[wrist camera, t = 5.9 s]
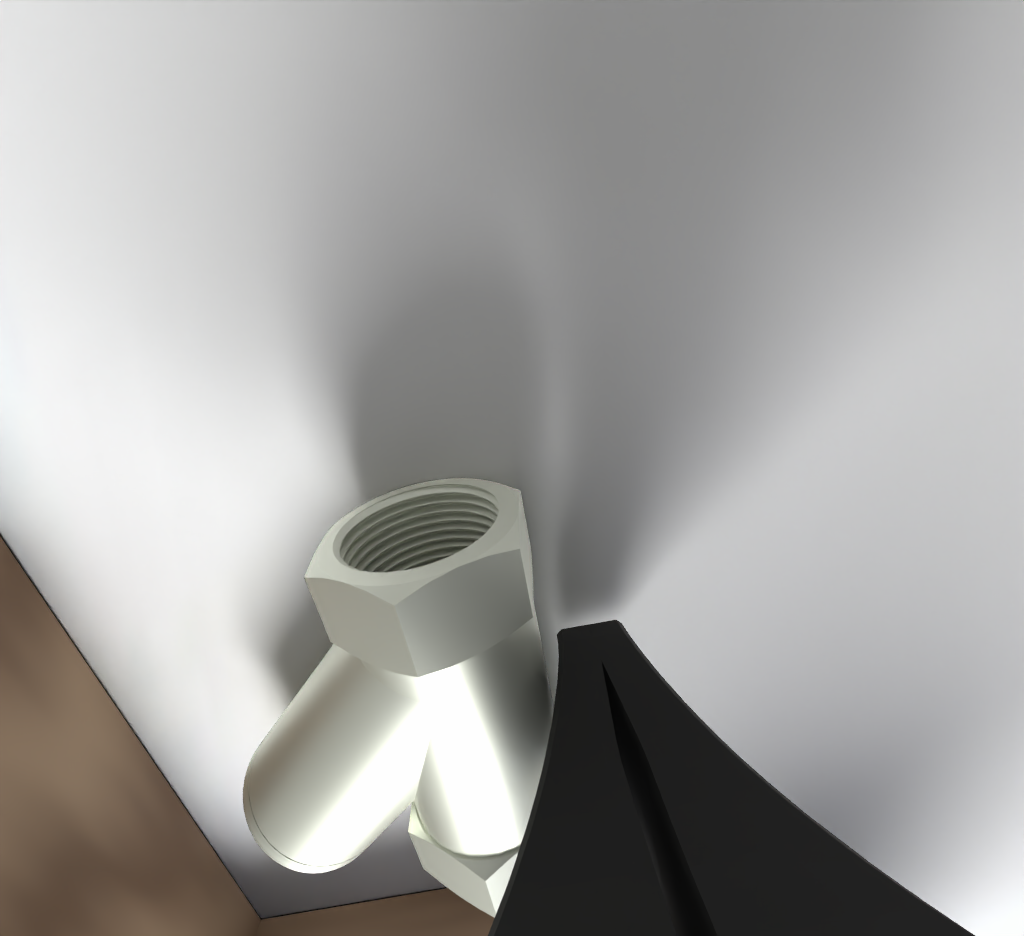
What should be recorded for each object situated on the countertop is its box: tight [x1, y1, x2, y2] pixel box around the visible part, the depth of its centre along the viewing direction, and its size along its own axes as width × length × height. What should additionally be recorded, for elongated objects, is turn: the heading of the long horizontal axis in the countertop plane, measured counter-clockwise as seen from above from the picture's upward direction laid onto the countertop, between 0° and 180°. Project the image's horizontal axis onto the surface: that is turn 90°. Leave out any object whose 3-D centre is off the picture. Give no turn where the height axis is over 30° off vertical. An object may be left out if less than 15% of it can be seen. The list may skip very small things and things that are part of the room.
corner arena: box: [0, 537, 494, 936], centre depth 11 cm, size 16×13×4 cm
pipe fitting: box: [243, 478, 554, 918], centre depth 10 cm, size 8×4×7 cm
